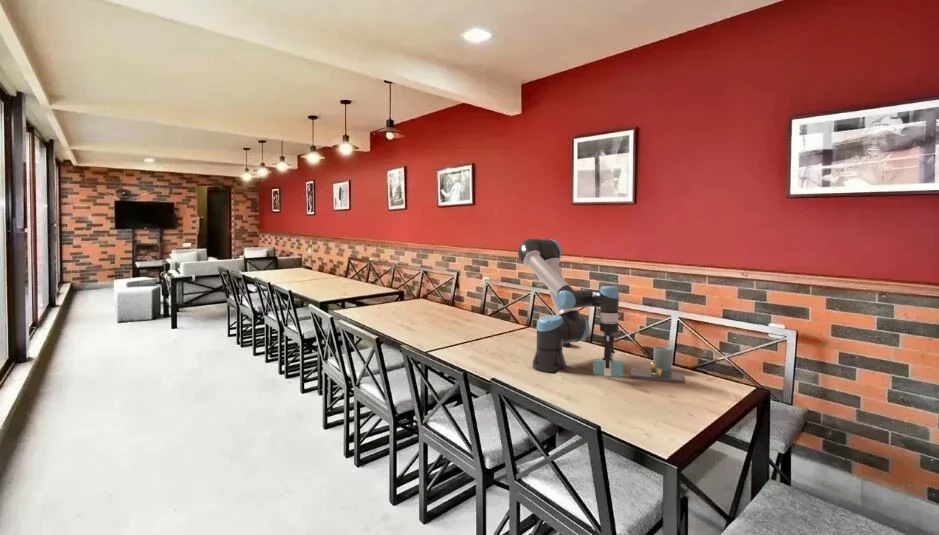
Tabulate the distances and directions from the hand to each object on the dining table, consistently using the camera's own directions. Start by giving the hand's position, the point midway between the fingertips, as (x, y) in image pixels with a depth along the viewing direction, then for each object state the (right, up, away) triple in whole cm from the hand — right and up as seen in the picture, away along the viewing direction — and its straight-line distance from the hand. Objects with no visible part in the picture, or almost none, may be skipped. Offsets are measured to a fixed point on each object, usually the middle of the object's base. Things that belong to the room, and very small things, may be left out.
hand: (608, 372), depth 192 cm
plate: (+19, -1, -2) cm, 19 cm away
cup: (+26, -1, +7) cm, 27 cm away
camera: (-10, 0, +51) cm, 52 cm away
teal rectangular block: (0, -1, 0) cm, 1 cm away
